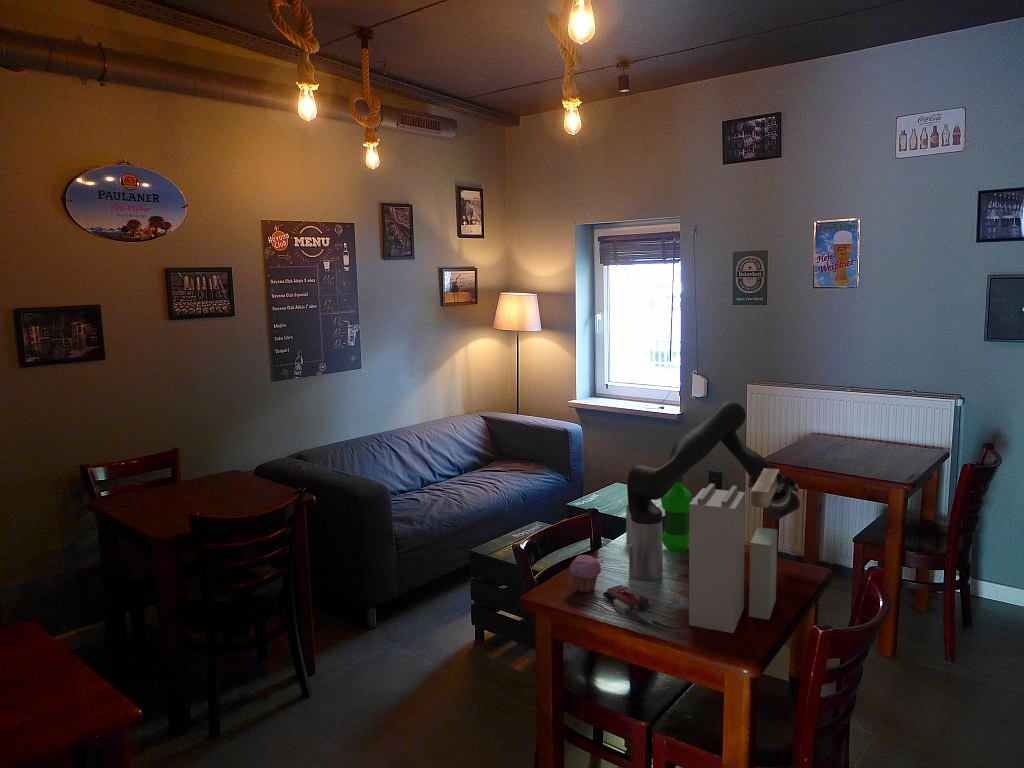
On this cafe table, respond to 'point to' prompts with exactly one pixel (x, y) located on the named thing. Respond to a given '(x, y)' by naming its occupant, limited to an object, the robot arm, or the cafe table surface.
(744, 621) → the cafe table surface
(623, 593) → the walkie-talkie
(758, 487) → the birch bar
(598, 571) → the cupcake
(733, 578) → the grey stand
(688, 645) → the cafe table surface
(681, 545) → the plastic bottle
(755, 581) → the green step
